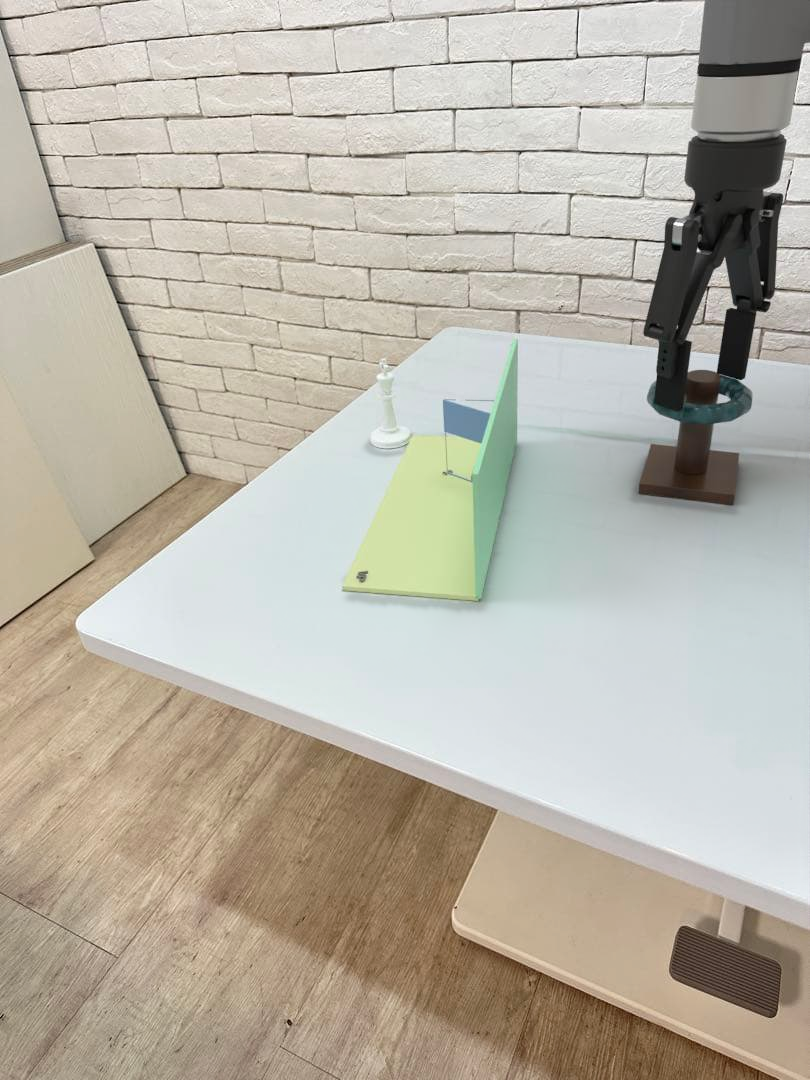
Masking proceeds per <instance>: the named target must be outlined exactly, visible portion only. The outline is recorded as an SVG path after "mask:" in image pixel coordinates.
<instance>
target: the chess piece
mask: <svg viewBox="0 0 810 1080" xmlns="http://www.w3.org/2000/svg"><path fill="white" fill-rule="evenodd" d="M378 364H379V367H380V369H381V372H380V373H378V374H376V378H375V379H376V380H377V383H378V384H379V388H380V390H381V391H380V392H379V393H377V398H378V399H379V400H381V401H382V424H381V425H380V426H379V427H377V428H376V429H374V430H373V431H372V432H370V440H369V441H370V444H371V445H372V446H374V447H376V448H379V449H385V450H386V449H387V450H389V449H390V450H391V449H396V448H397V449H398V448H401V447H404V446H406V445H408V444H409V442H410V439H411V437H412V435H411V433H412V432H411V431H410V429H409V428H408V427H405V426H404V425H400V424H399V423H398V422H397V419H396V417H395V416H396V415H395V411H394V407H393V401H392V400H393V399H395V398H396V397H397V394H396V392H395V391H393V390H392V387H393V382H394V379H395V375H394V374H393V373H392V372H389V371H390V365H388V364H387V359H386V358H385V357H383V358H381V359H380V362H379V363H378Z"/></svg>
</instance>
